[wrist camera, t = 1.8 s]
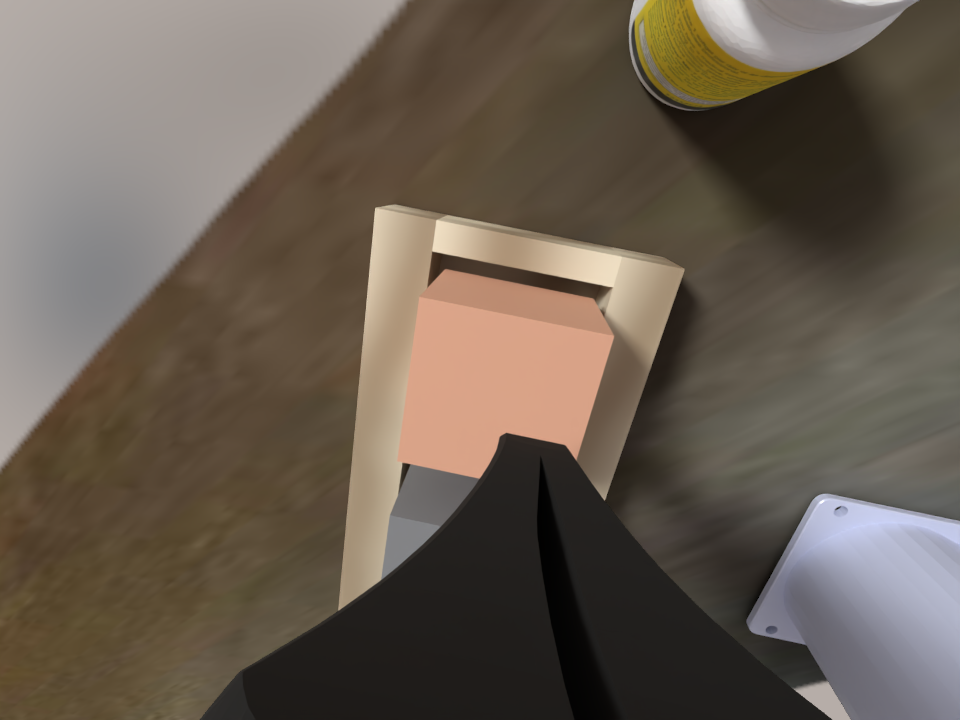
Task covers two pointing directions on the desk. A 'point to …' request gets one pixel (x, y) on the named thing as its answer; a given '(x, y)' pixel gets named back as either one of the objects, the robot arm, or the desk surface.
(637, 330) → the board
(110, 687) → the desk surface
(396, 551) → the grey block
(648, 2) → the supplement bottle
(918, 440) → the desk surface
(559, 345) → the button terracotta
